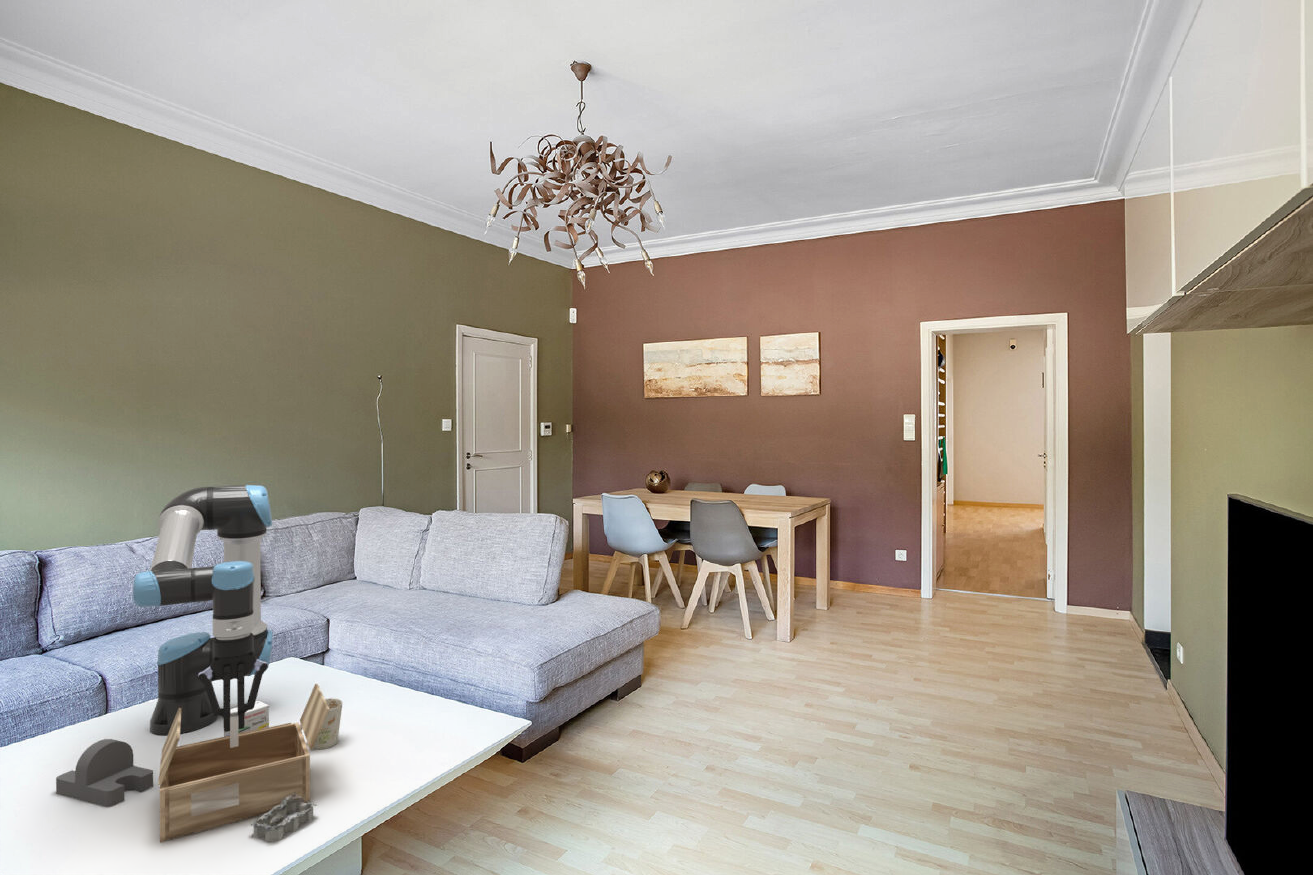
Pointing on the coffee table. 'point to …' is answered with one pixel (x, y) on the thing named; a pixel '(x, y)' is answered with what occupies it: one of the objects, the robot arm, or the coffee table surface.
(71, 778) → the bracket
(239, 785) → the light wood open box
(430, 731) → the coffee table surface
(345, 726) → the coffee table surface
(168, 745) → the flap
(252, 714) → the ink box
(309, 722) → the flap
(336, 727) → the mug
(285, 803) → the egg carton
